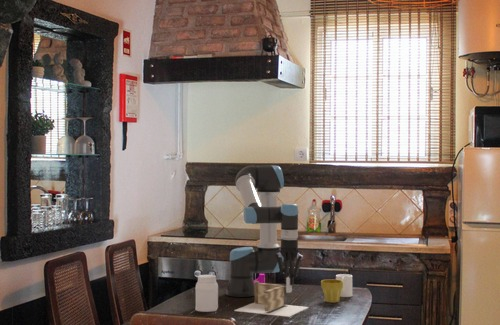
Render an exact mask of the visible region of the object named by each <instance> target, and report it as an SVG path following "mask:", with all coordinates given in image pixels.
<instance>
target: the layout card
mask: <svg viewBox="0 0 500 325" xmlns="http://www.w3.org/2000/svg"><path fill="white" fill-rule="evenodd" d="M309 308H310V307H309V306H303V305H290V304H286V305H283V306H281V307H278V308H275V309H273V310H270V311H265V304H259V303H255V301H254V302H252V303H249V304H247V305H244V306H242V307H239V308H237V309H234V312H238V313H239V312H241V313H249V314H257V315H266V316H267V315H268V316H277V317H285V318H290V317H292V316H295V315H296V314H298V313H301V312H302V311H305V310H308V309H309Z"/></svg>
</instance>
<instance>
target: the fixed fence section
mask: <svg viewBox="0 0 500 325" xmlns="http://www.w3.org/2000/svg"><path fill="white" fill-rule="evenodd" d="M279 286H283V284H276V283H275V284H274V283H266V282H265V283H259V281H255V296H254V302H255V303H259V304H265V293H264V291H266V290H269V289H273V288H276V287H279Z"/></svg>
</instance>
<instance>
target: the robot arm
mask: <svg viewBox="0 0 500 325" xmlns="http://www.w3.org/2000/svg"><path fill="white" fill-rule="evenodd" d="M284 179H285V178H284V174H283V170H282V168H281V167H280V166H279V165H272V164H271V165H269V164H268V165H254V164H253V165H247V166H245V167H243V168H242V169H240V170H239V171H238V173H237V174H236V177H235V180H234V183H235V187H236V190H238V192H240V196H241V199H242V201H243V203H244V208H243V221H244V223H245V224H252V225H255V224H257V225H259V243H258V244H257V246H256V249H254V248H253V247H252V246H244V247H243V246H242V247H237V248H234V249H232V250H231V251H230V252H229V281H228V284H227V288H226V294H225V295H226V296H229V297H232V298H233V297H237V298H248V297H255V284H254V274H265V273H270V274H272V273H280V276H282V277H284V285H285V286H286V294H287V293H289V294H291V293H292V292H293V285H294V284H295V278H296V277H298V276H299V272H300V268H301V263H302V260H303V259H304V257H305V256H304V254H303V255H302V254H300V252H299V240H298V238H299V206H298V204H296V203H282V204H281V205H280V206H278V195H279V194H280V193H281V190H282V189H283V188H284V187H285V186H284V184H285V182H284V181H285V180H284ZM278 224H280V238H281V239H280V244H278ZM295 259H296V260H295ZM295 261H296V262H295Z"/></svg>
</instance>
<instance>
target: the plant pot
mask: <svg viewBox="0 0 500 325" xmlns="http://www.w3.org/2000/svg"><path fill="white" fill-rule="evenodd" d="M320 287H321V289H322V292H323V296H324V302H326V303H339V302H340V299H341V297H340V294H341V289H342V288H343V281H341V280H336V278H335V279H332V278H331V279H330V278H329V279H322V280H321V281H320Z"/></svg>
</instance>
